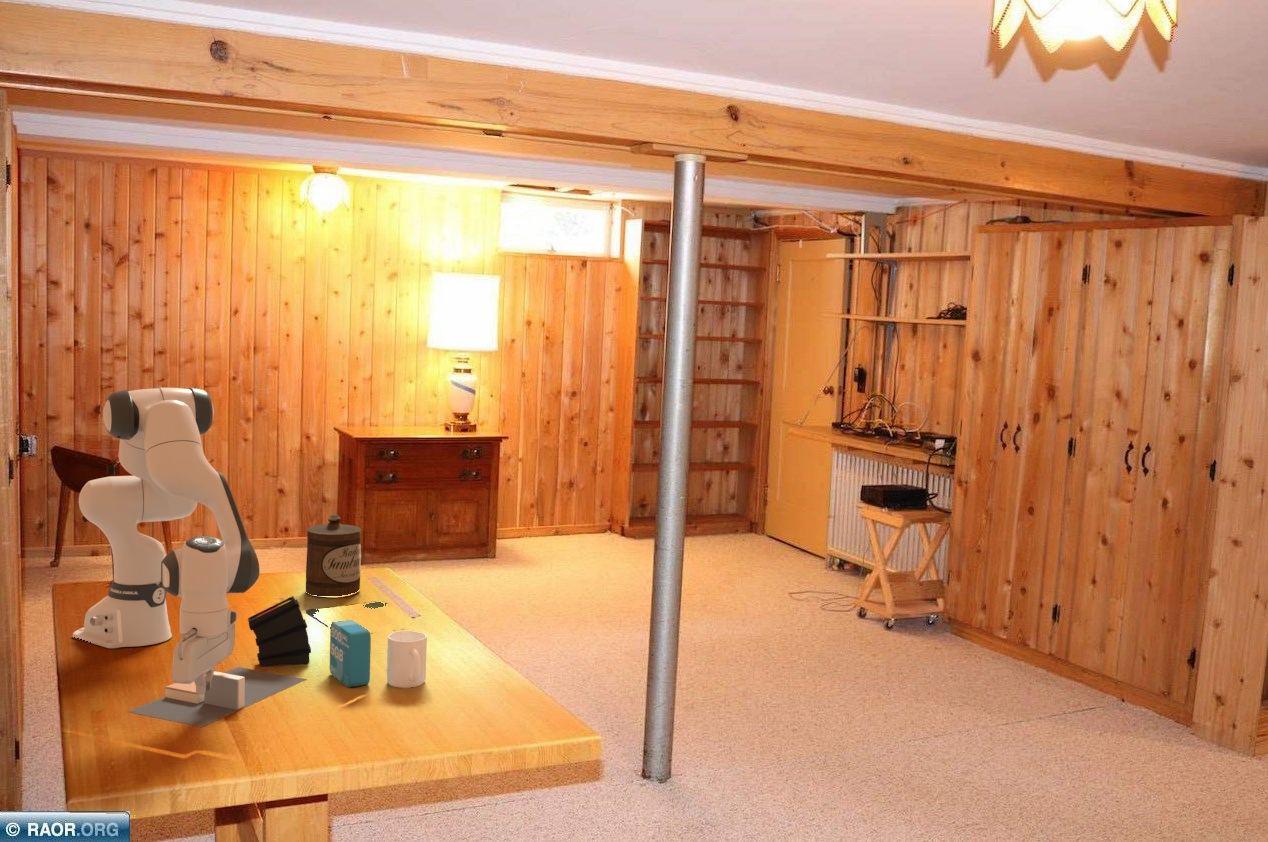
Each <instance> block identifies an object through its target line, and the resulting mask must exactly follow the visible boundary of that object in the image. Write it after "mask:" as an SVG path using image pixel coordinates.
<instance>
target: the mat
mask: <svg viewBox="0 0 1268 842" xmlns="http://www.w3.org/2000/svg"><path fill="white" fill-rule="evenodd" d="M223 673H226V674H232V675H237V676H242V677H245V705H244V707H242V708H240V709H237V710H236V709H231V708H226V707H221V706H216V705H211V704H206V703H204V701H203V702H200V703H198V704H197V703H192V702H187V701H182V700H177V699H172V698H167V697H166V695H164V696H162V697H159V698H157V699H155V700H153V701H150V702H148V703H145V704H143V705H140V706H138V707H135V708H133V709H129V710H128V711H127V713H131V714H136V715H142V716H146V717H150V718H155V719H161V720H165V721H170V722H175V723H180V724H184V725H190V726H193V727H199V728H203V727H205V726H208V725H210V724H212V723H215V722H217V721H219V720H221V719H223V718H225V717H228V716H230V715H232V714H234V713H236V712H238V711H241V710H243V709H245V708H247V707H250V706H252V705H254V704H256V703H258V702H260V701H262V700H265V699H267V698H269V697H271V696H275V695H276V694H278V693H280V692H283V691H284V690H288V689H289V688H292V687H293V686H296V685H299V684H300V683H303V682H304V681H307V678H302V677H298V676H297V677H296V676H291V675H285V674H280V673H276V672H275V673H274V672H270V671H269V672H268V671H265V670H264V671H262V670H258V669H252V668H246V667H242V666H237V667H234V668H233V669H230V670H227V671H225V672H223Z"/></svg>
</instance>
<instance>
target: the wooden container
mask: <svg viewBox="0 0 1268 842" xmlns="http://www.w3.org/2000/svg"><path fill="white" fill-rule="evenodd" d="M327 520H328V523H327V524H326V523H325V524H317V525H314V526H313V525H311V526H309V527H308V528H307V535H306V536H307V537H306V538H307V540H306V541H307V543H306V544H307V545H306V547H307V548H306V562H305V563H306V564H305V565H306V566H305V593H306V592H307V593H309V594H311V595H317V596H342V595H348V594H351V593H355V592H357V591H358V590H359V589H360V590H361V563H362V562H361V560H362V559H361V555H362V554H361V549H362V548H361V547H362V545H361V541H362V540H361V539H362V536H361V535H362V529H361V528H360V527H359V526H357V525H356V526H355V525H351V524H341V516H339V515H338V514H331V515H330V516H329V517H328V518H327ZM307 593H306V594H307Z"/></svg>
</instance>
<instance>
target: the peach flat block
mask: <svg viewBox="0 0 1268 842" xmlns="http://www.w3.org/2000/svg"><path fill="white" fill-rule="evenodd" d="M165 696H166V697H167V698H172V699H177V700H182V701H187V702H192V703H197V704H198V703H200V702H203V701H204V694H197V693H196V685H195V682H192V683H191V684H180V683H174V682H173V683H171V684H170V685H167V686H165Z"/></svg>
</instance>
